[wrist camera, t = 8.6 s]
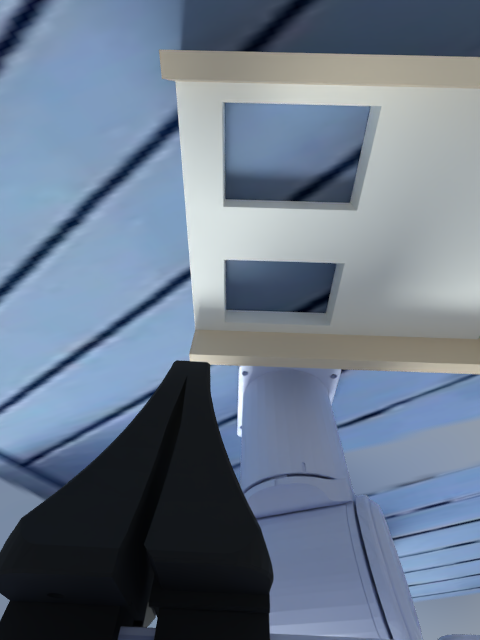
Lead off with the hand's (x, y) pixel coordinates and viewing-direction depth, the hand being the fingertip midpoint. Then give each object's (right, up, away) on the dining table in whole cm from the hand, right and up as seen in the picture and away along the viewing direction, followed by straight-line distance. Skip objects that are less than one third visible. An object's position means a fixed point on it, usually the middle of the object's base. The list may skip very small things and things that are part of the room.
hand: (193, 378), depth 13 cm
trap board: (+13, +8, +6) cm, 16 cm away
